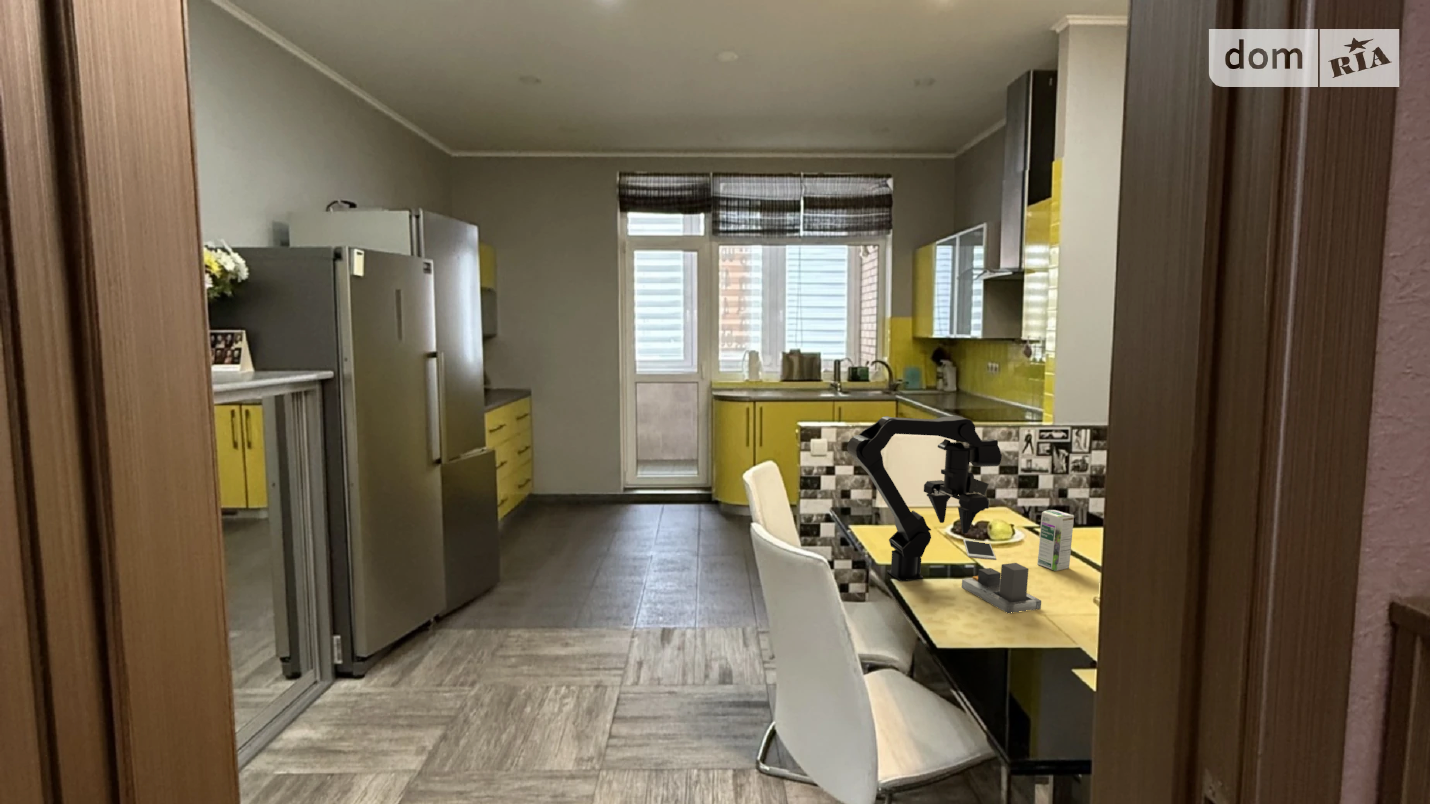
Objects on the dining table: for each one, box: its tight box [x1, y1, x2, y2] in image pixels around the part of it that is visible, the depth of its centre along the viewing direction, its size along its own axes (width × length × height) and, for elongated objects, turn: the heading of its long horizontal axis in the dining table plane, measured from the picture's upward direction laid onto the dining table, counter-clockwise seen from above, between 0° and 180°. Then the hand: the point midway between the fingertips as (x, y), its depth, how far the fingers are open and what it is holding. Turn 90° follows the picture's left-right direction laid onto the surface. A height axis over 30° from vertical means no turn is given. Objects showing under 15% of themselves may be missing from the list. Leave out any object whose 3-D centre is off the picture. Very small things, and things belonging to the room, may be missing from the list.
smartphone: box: [963, 538, 997, 561], centre depth 205 cm, size 7×15×1 cm, turn 166°
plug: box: [999, 562, 1029, 603], centre depth 166 cm, size 4×4×9 cm
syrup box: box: [1037, 509, 1075, 572], centre depth 192 cm, size 6×6×14 cm
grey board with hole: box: [961, 567, 1042, 614], centre depth 170 cm, size 9×16×5 cm, turn 19°
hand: (953, 527), depth 184 cm, fingers open, 9 cm apart
